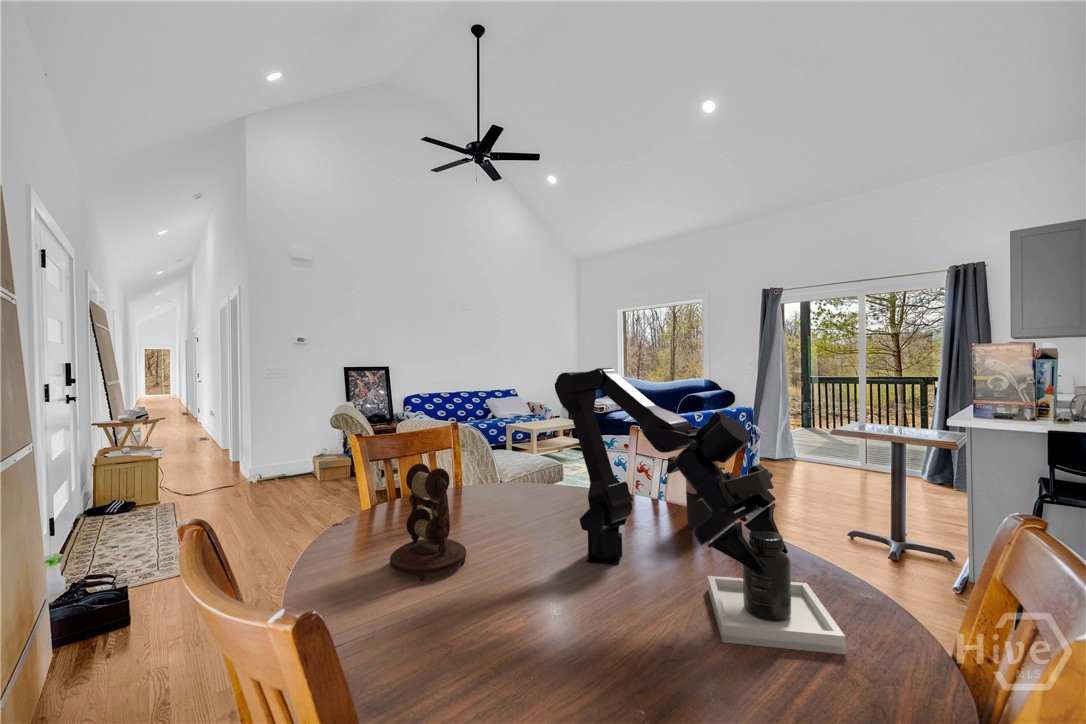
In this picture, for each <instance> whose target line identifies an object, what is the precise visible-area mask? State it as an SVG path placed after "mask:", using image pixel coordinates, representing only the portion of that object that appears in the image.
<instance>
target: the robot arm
mask: <svg viewBox="0 0 1086 724" xmlns="http://www.w3.org/2000/svg"><path fill="white" fill-rule="evenodd" d="M554 390H555V393H556V396H557V398H558V400H559V402H560V404H561V406H562V407H563V408H564V410H566V412H567V413H569V414H570V416H571V419H572V421H573V422H572V423H573V426H574V430H575V433H576V435H577V439H578V442H579V446H580V449H581V453H582V456H583V457H582V458H583V460H584V462H585V467H586V470H587V473H588V477H589V482H590V484H589V490H588V495H587V501H588V506H589V508H588V509H587V510H586V512H584V514H583V515H582V516H581V517H580V518H579V523H580V527H581V530H583V531H586V532H587V557H586V562H588V563H599V564H600V563H601V564H613V565H614V564H615V565H619V564H620V561H621V560H620V559H621V558H622V557H623V551H624V550H623V545H624V544H623V533H622V532H620V527H621V526H625V525H626V523H627V520H628V518H629V517H630V516H631V512H632V511H633V504H632V502H633V501H634V499H633V497H632V495H631V493H630V490H629V489H630V488H629V485H628V482H627V481H626V480H624V481H620V480H619V479H618V478H617V477H616V476H615V474H614V472H613V468H612V465H611V462H610V461H611V460H610V458H609V454H608V451H607V448H606V445H605V442H604V439H603V436H602V432H601V428H600V425H599V422H598V418H597V416H596V412H595V403H596V399H597V391H601V392H602V393H603V394H605V396H607V397H608V398H609V399H610V400H611V401H612V402H614V403H615V404H616V405H617V406H618V407H620V409H622V410H623V411H624V412H625V413H626V414H627V415H628V416H629V417H630V418H632V419H633V420H634V421H635V422H636V423H637V424H638V425H639V427H640V429H641V430H642V431H641V432H642V434H643V436H644V437H645V439H646V440H647V441H648V442H649V444H650V445H651V446H652V447H653V449H655V450H656V451H658V452H659V453H662V454H663V453H666V454H667V453H671V452H675V451H680V450H681V451H680V453H678V454H677V456H676V455H674V456H670V457H668V458H667V466H666V473H667V474H672V473H676V472H680V473H681V475H682V476H683V477H684V478H685V481H686V480H687V481H688V482H689V484H690V485H691V486H692V488H693V489H694V490H695V491H696V494H695V495H694V496H693V497H694V498H695V500H696V501H699V500H703V502H704V503H705V504H706V506H707V507H708V508H709V510H710V511H711V513H710V514H709V515H707V516H706V517H705V518H704V519H703V520H701V521H700V522H699V523H698V524H697V525H695V526H694V530H693V536H694V537H695V539H696V540H697V542H698V543H699V544H700V546H703V545H705V544H707V543H708V544H707V547H708V548H709V549H711V548H712V549H715V550H716V551H718V552H720V553H722V554H723V555H724V554H725V555H726V556H728V557H730V558H732V559H733V560H734V561H737V562H738V563H740V564H741V565H742V566H743V565H745V566H747V567H748V568H750V569H752V570H753V571H755V572H757V573H761V572H762V571H764V568H763V566H762V564H761V563H760V561H759V559H758V558H757V556H756V555H755V553H754V552H753V550H752V549H751V547H750V546H749V542H748V541H747V540H746V539H745V537H744V536H743V522H744V523H745V524H744V527H745V528H746V529H748V530H749V531H750V532H751V531H754V530H766V531H772V532H775V533H778V534H780V535H781V533H780V531H779V529H778V527H777V524H776V522H775V520H774V513H775V511H774V510H775V508H776V503H775V501H776V500H777V498H776V497H775V496H774V495H773V494H772V493H771V492H770V491H769V490H773V489H774V488H775V487H774V485H773V483H772V481H771V480H772V478H773V477H774V475H773V473H772V472H769V470H768V468H765V467H764V466H763V465H761V464H760V463H759V464H755V465H752V466H750V467H748V468H747V474H744V475H742V476H741V475H740V476H738V477H736V476H735V475H734V473H732V472H729V471H728V472H724V471H723V470H722V469H721V468H720V466H719V467H718V465H717V464H716V463H715V462H717V461H718V462H719V463H721V464H722V463H723V464H725V463H727V462H728V461H730V460H731V459H732V458H733V456H735V455H736V454H737V453H738V452H740V451H741V449H743V448H744V447H745V446H746V445H747V444H749V442H750V441H751V435H750V433H749V431H748V430H747V429H746V427H745V426H744V425H743V424H742V423H741V422H740V423H739V421H737V420H736V419H734V418H732V417H730V416H728V415H726V414H725V413H724V412H723V411H722V410H721V411H715V412H714V413H713V414H712V415H711V416H710V418H709V420H708V421H707V422H705V423H704V424H703V425H702V427H700V426H696V425H695V426H694V425H692V424H691V423H690V422H689V421H688V420H687V419H686V418H684V417H682V416H680V415H679V414H676V413H675V412H673V411H670V410H667V409H664V408H662V407H660V406H658V405H657V404H655V403H654V402H652V401H651V400H650V399H648V398H647V397H646V396H645V395H644V394H642V393H641V391H639V390H638V389H637V388H635V387H634V386H633V385H632V384H630V383H629V381H627V380H626V379H624V378H623V377H622V376H620V375H619V374H618V371H616V369H613V368H612V367H599V368H598V367H597V368H595V369H593V370H589V371H572V372H571V371H570V372H561V373H560V374H559V375H558V376H557V378H556V381H555V383H554ZM695 442H697V444H696V445H695V446H694V447H693V448H691V449H690V448H686V447H688V446H689V445H690V444H691V443H695ZM738 520H740V521H738ZM737 521H738V522H737ZM735 522H736V523H735ZM746 522H747V523H746ZM710 541H711V542H710ZM709 542H710V543H709ZM782 552H784V553H785V554H786V555H787V554H788V553H789V551H788V548H787V547H786V545H785V542H784V541H783V550H782Z"/></svg>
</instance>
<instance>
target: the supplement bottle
mask: <svg viewBox="0 0 1086 724" xmlns="http://www.w3.org/2000/svg"><path fill="white" fill-rule="evenodd" d="M748 535H749V540H748V544H749V546H750V547H751V549H752V550H753V552H754V553H755V555H756V556H757V558H758V559H759V561H760V563H761V564H762V566H763V568H764V571H762V572H761V573H757V572H755V571H753V570H752V569H750V568H748V567H747V566H745V565H743V564H742V578H743V599H744V607H745V609H746V610H747V612H749V613H750V614H751V615H753V616H755V617H757V618H760V619H763V620H767V621H783V620H786V619H788V618H789V617H790V615H791V582H792V579H791V578H792V576H791V575H792V574H791V572H792V571H791V570H792V569H791V559H790V558H789V556H788V555H787V554H785V553H784V552H782V550H783V542H784V537H783V536H782V534H781V533H780V534H778V533H775V532H772V531H766V530H754V531H750V532H749V534H748Z"/></svg>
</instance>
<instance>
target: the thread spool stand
mask: <svg viewBox="0 0 1086 724" xmlns="http://www.w3.org/2000/svg"><path fill="white" fill-rule="evenodd" d="M405 484H406V486H407V488H408V489H409V490H410V493H411V494H410V496H409V497H408V501H409V503H410V505H411V508H412V509H411V511H410V512H411V513H410V514H409V516H408V517H407V520H406V524H405V525H406V531H407V533H408V534H409V535H410V537H411V538H410V539H411V541H410V542H408V543H406V544H403V545H401V546H400V547H399V548H397V549H395V550H394V551H393V552H392V553H391V554H390V557H389V566H390V568H391V569H392V570H394V571H395V572H397V573H400V574H404V575H411V576H418V579H419V581H420V582H423V581H424V579H425V576H426V575H434V574H439V573H444V572H447V571H449V570H452V569H454V568H456V567H458V566H460V565H461V566H464V565H465V562H466V559H467V549H466V547H465V545H463V544H462V543H460V542H458V541H457V540H454V539H449V536H450V529H451V520H450V519H451V518H450V507H449V505H450V504H449V498H448V493H447V491H448V489H449V486H450V475H449V473H448V471H447V470H446V469H444V468H442V467H437V468H434V469H432V470H430V469H429V466H427V465H426V464H425V463H415V464H414V465H412V466H411V467H410V468H409V469H408V471H407V473H406V478H405ZM418 506H423V507H424V508H418ZM427 509H430V510H431V514H430V512H429V511H428V510H427ZM431 515H432V518H431ZM419 538H421V539H419Z"/></svg>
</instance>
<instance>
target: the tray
mask: <svg viewBox="0 0 1086 724" xmlns="http://www.w3.org/2000/svg"><path fill="white" fill-rule="evenodd" d="M707 592H708V595H709V596H708V597H709V599H710V603H711V606H712V607H711V608H712V609H713V614H714V617H715V619H716V624H717V628H718V631H719V635H720V638H721V642H722V643H724V644H725V643H728V644H737V645H749V646H758V647H768V648H777V649H786V650H787V649H788V650H799V651H805V652H806V651H807V652H809V651H810V652H817V653H819V652H820V653H828V654H837V655H838V654H839V655H846V634H844V632H843V631H842V630H841V628H840V627H839V625H838V624H837V623H836V621H835V620H834V618H833V617H832V615H831V614H830V613H829V611H828V610H827V608H826V607H825V606H824V605H823V603H822V602H821V600H820V599H819V598H818V596H817V595H816V594H815V592H814V591H813V590H812V587H810V585H809V584H808V583H807V582H796V581H791V615H790V617H789V618H788V619H786V620H783V621H767V620H763V619H760V618H757V617H755V616H753V615H751V614H750V613H749V612H747V610H746V609H745V607H744V599H743V577H742V578H740V577H728V576H714V575H707Z"/></svg>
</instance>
